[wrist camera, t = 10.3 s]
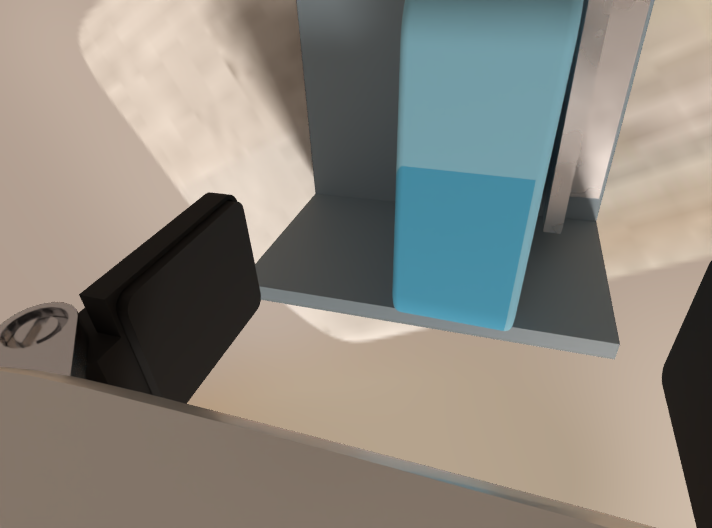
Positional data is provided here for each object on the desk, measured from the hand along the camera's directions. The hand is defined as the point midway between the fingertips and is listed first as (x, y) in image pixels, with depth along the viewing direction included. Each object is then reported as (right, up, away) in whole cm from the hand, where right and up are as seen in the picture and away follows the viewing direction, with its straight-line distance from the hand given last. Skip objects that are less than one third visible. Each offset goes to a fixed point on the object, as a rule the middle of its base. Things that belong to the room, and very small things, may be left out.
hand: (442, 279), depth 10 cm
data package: (+5, +9, +14) cm, 18 cm away
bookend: (+10, +8, +13) cm, 18 cm away
